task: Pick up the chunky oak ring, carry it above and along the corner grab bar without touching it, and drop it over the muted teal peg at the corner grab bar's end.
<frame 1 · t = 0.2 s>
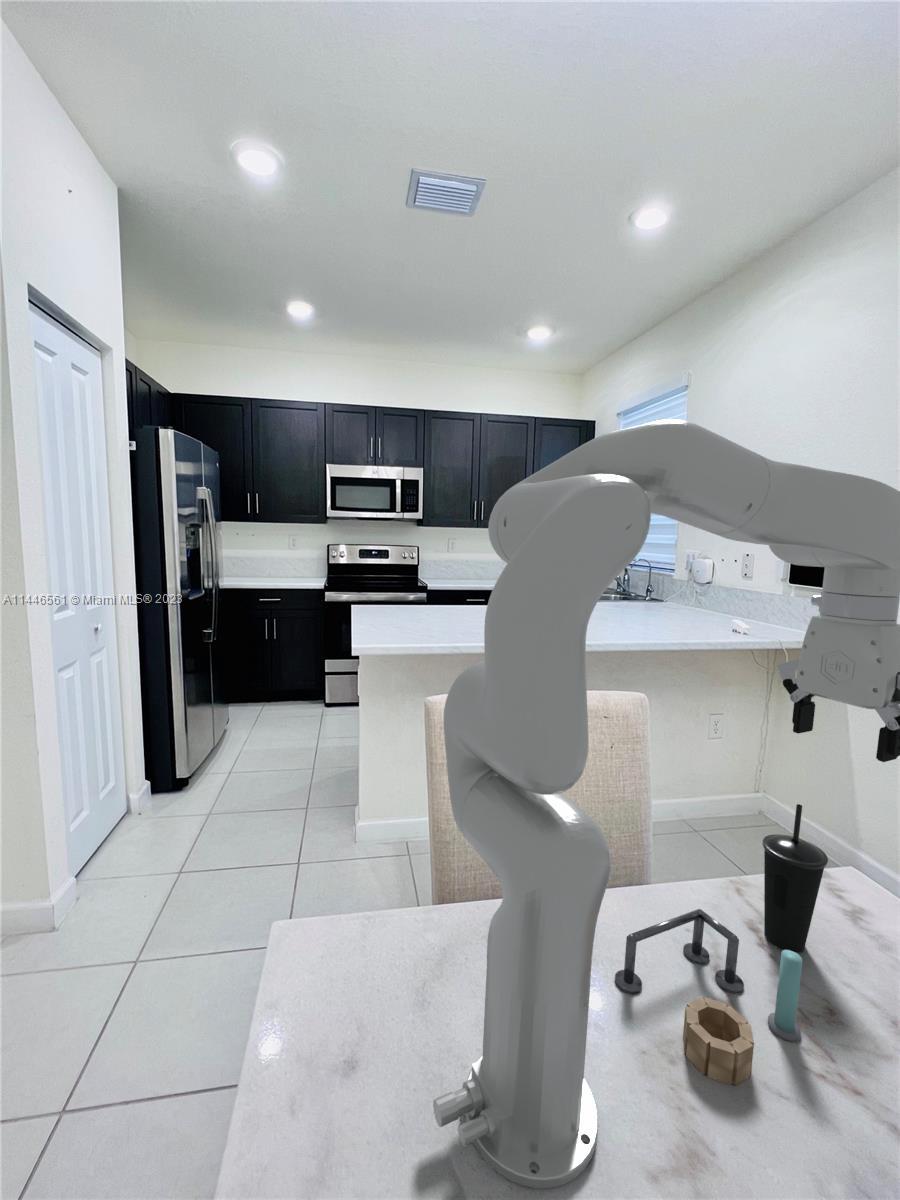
hand: (841, 744, 67), 31 cm above the table, fingers open, 9 cm apart
ring: (715, 1053, 58), on the table
drinking cup: (784, 941, 75), on the table
peg: (783, 1028, 61), on the table
corner grab bar: (628, 983, 67), on the table
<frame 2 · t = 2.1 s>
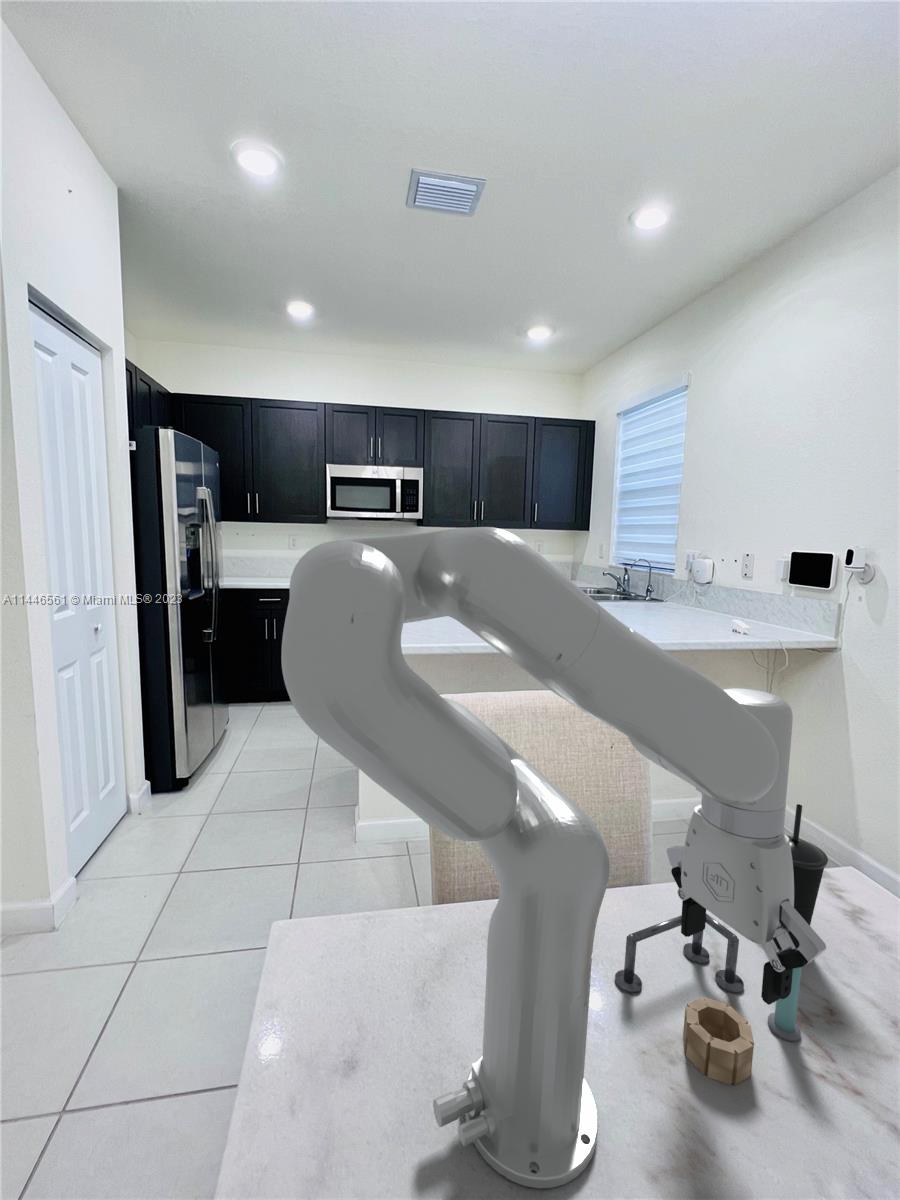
hand: (730, 962, 57), 11 cm above the table, fingers open, 9 cm apart
nothing on the table moved.
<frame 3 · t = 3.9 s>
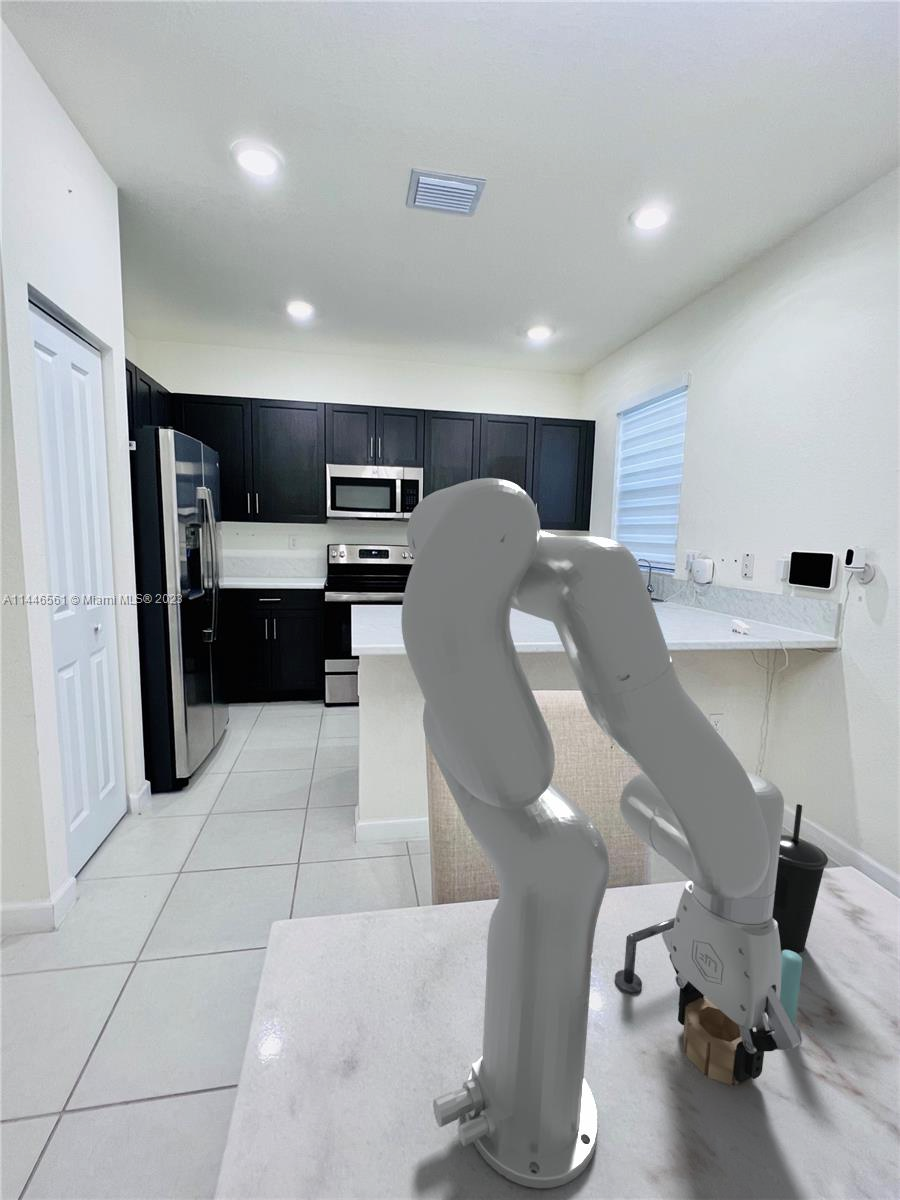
hand: (716, 1045, 58), 1 cm above the table, fingers closed on ring, 6 cm apart
ring: (715, 1053, 58), on the table, touching gripper
everything else where it was.
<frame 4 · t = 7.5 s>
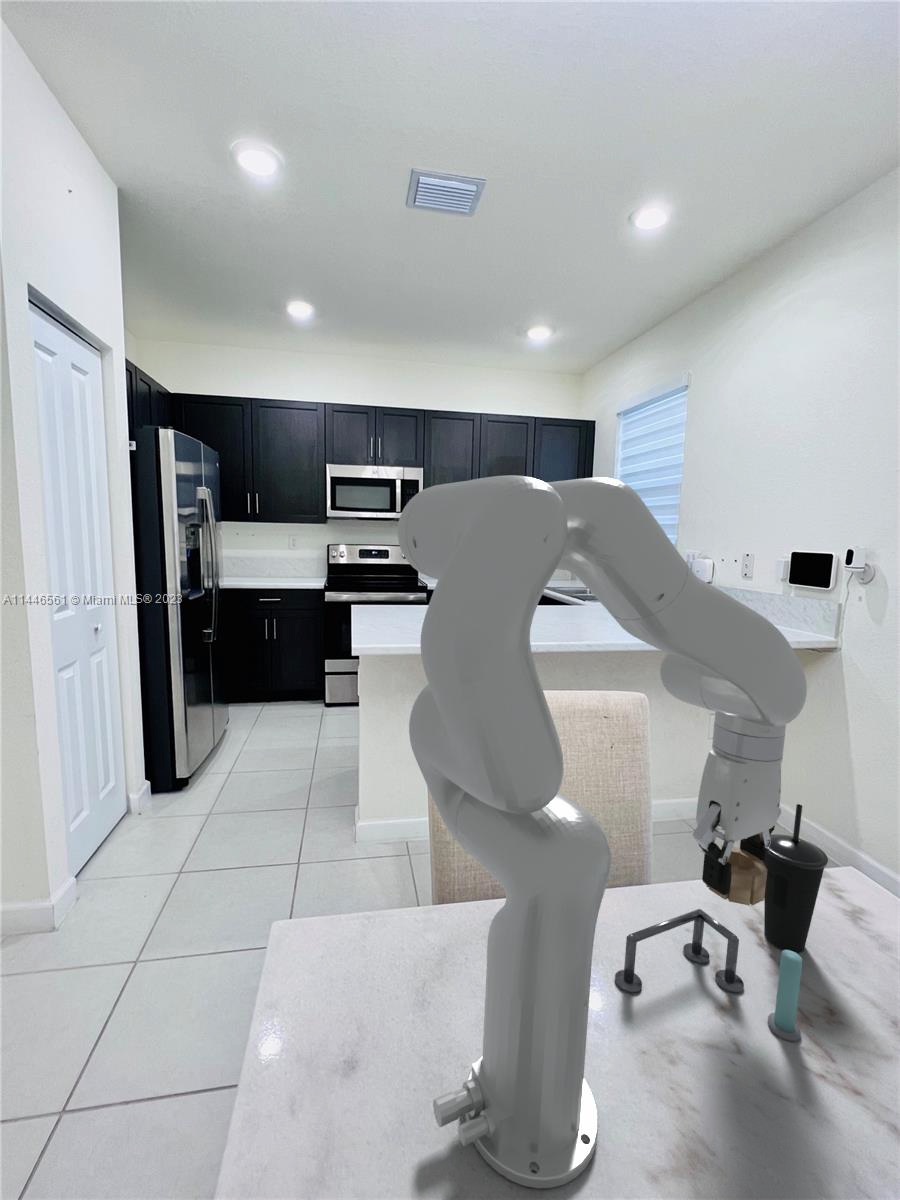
hand: (733, 879, 67), 14 cm above the table, fingers closed on ring, 6 cm apart
ring: (733, 887, 67), point 12 cm above the table, touching gripper
everything else where it was.
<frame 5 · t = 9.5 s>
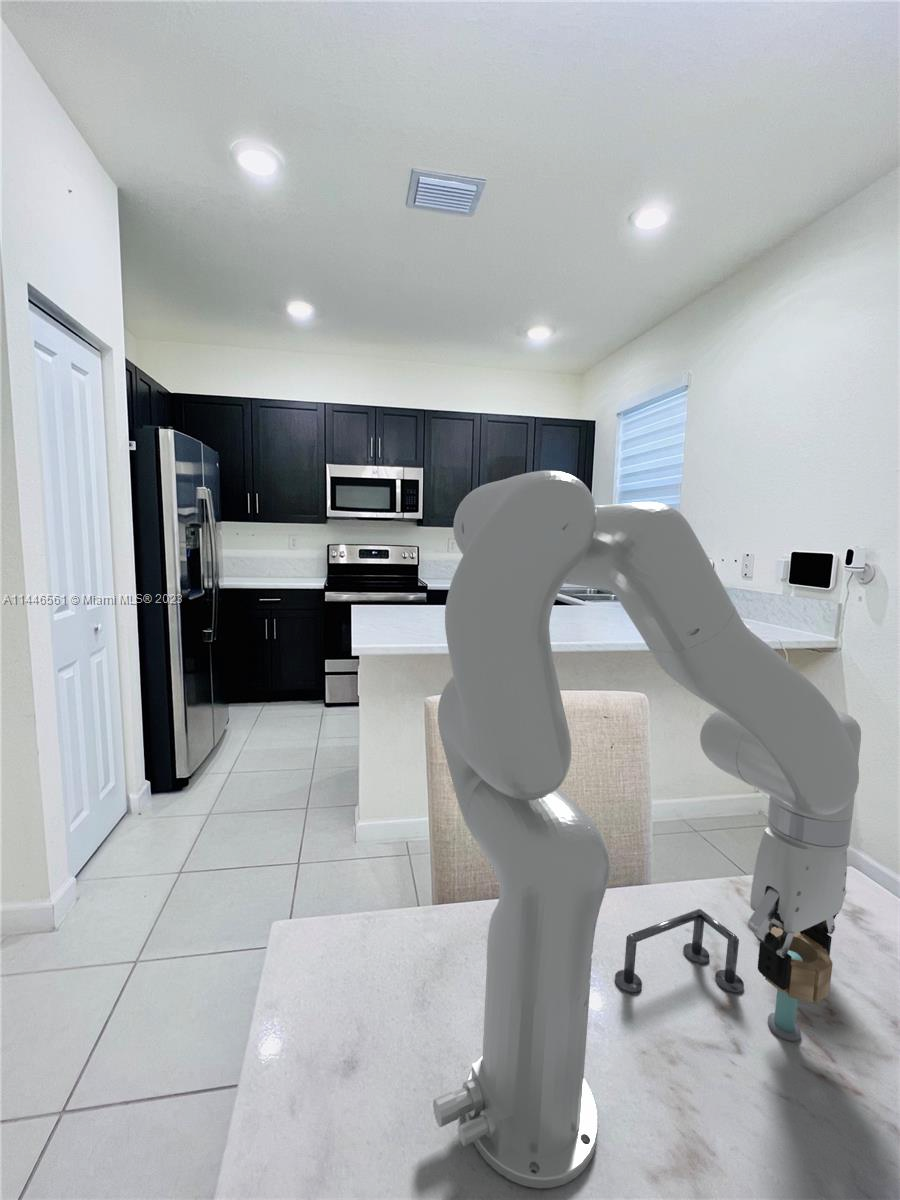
hand: (792, 968, 61), 7 cm above the table, fingers closed on ring, 6 cm apart
ring: (792, 977, 61), point 6 cm above the table, touching gripper
everything else where it was.
when the fingers open (3 cm above the table, at t = 11.2 s): ring drops 2 cm, on the table.
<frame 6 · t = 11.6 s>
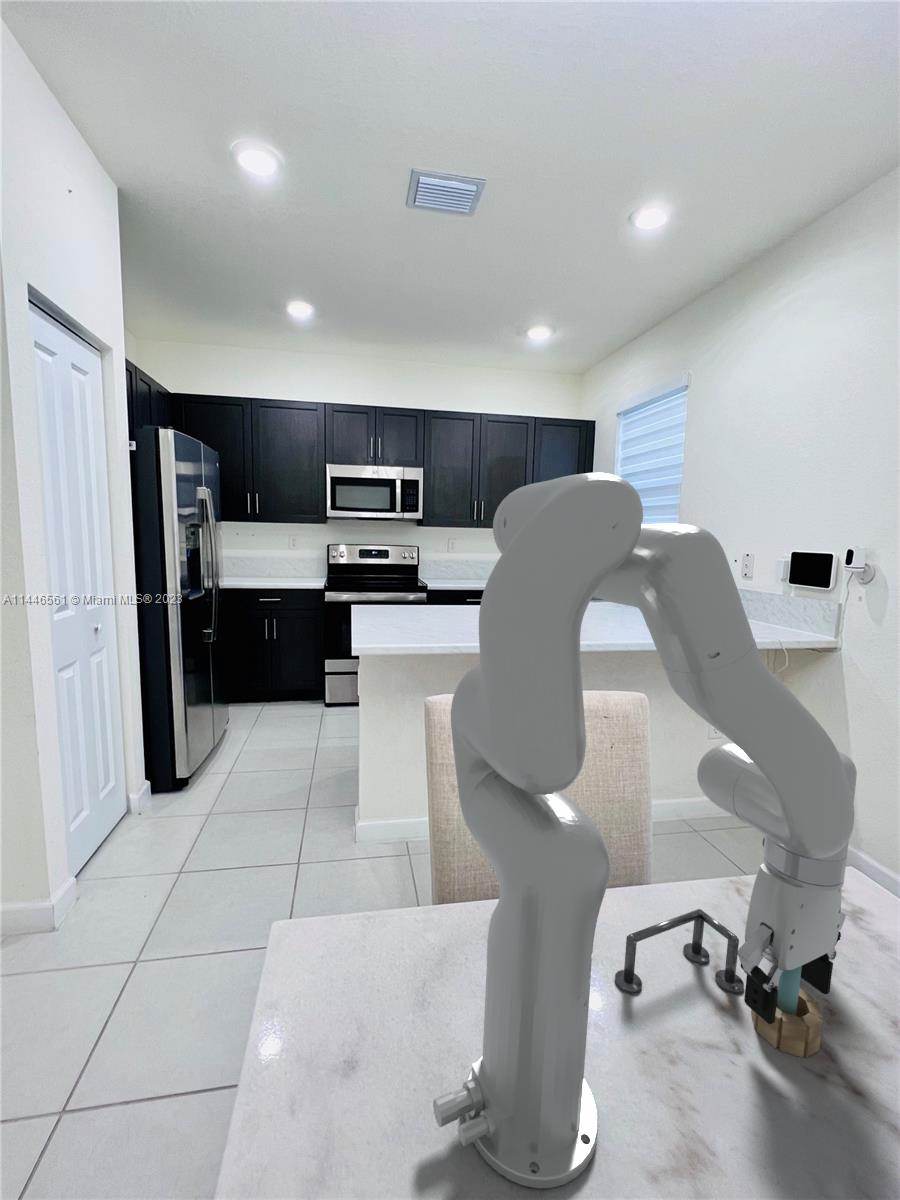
hand: (787, 998, 61), 4 cm above the table, fingers open, 9 cm apart
ring: (784, 1029, 61), on the table
everything else where it was.
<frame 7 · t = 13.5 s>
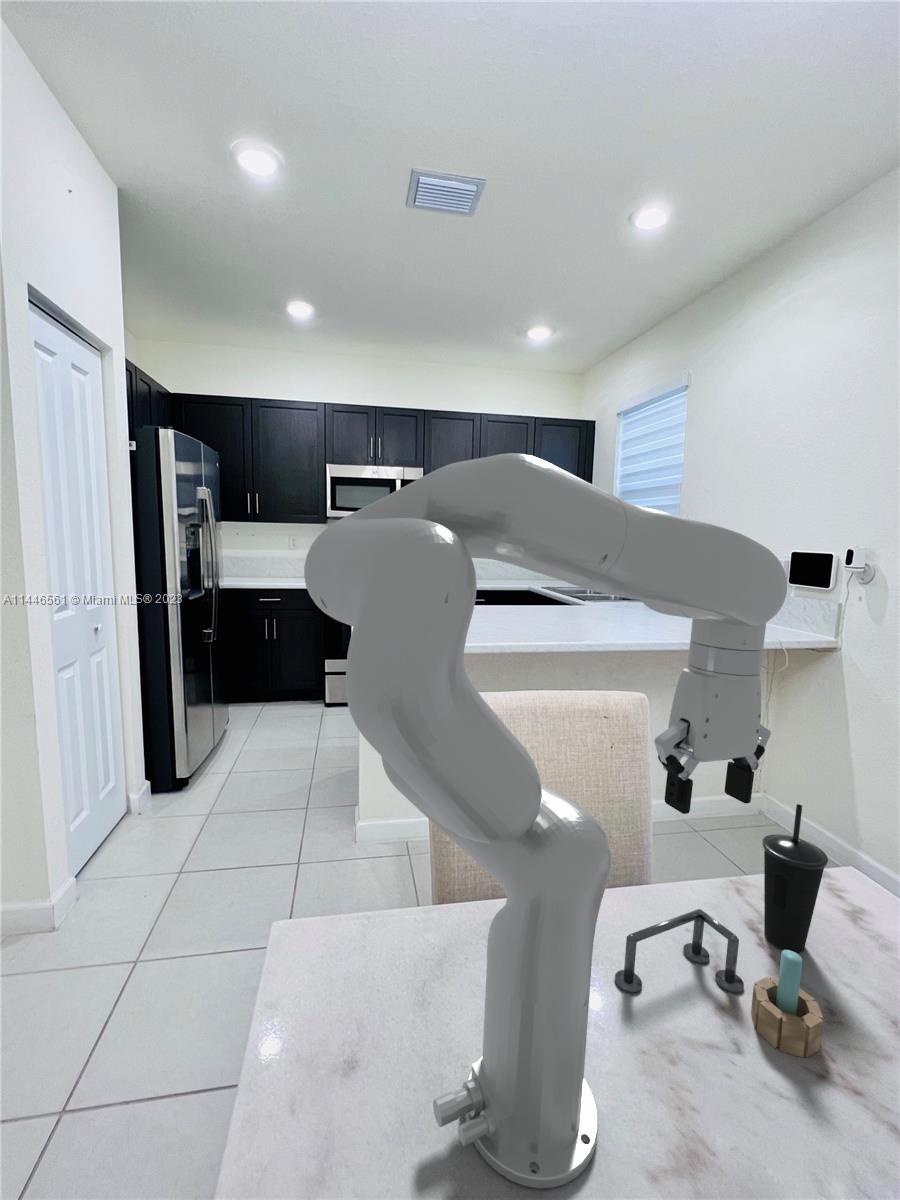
hand: (707, 803, 63), 25 cm above the table, fingers open, 9 cm apart
nothing on the table moved.
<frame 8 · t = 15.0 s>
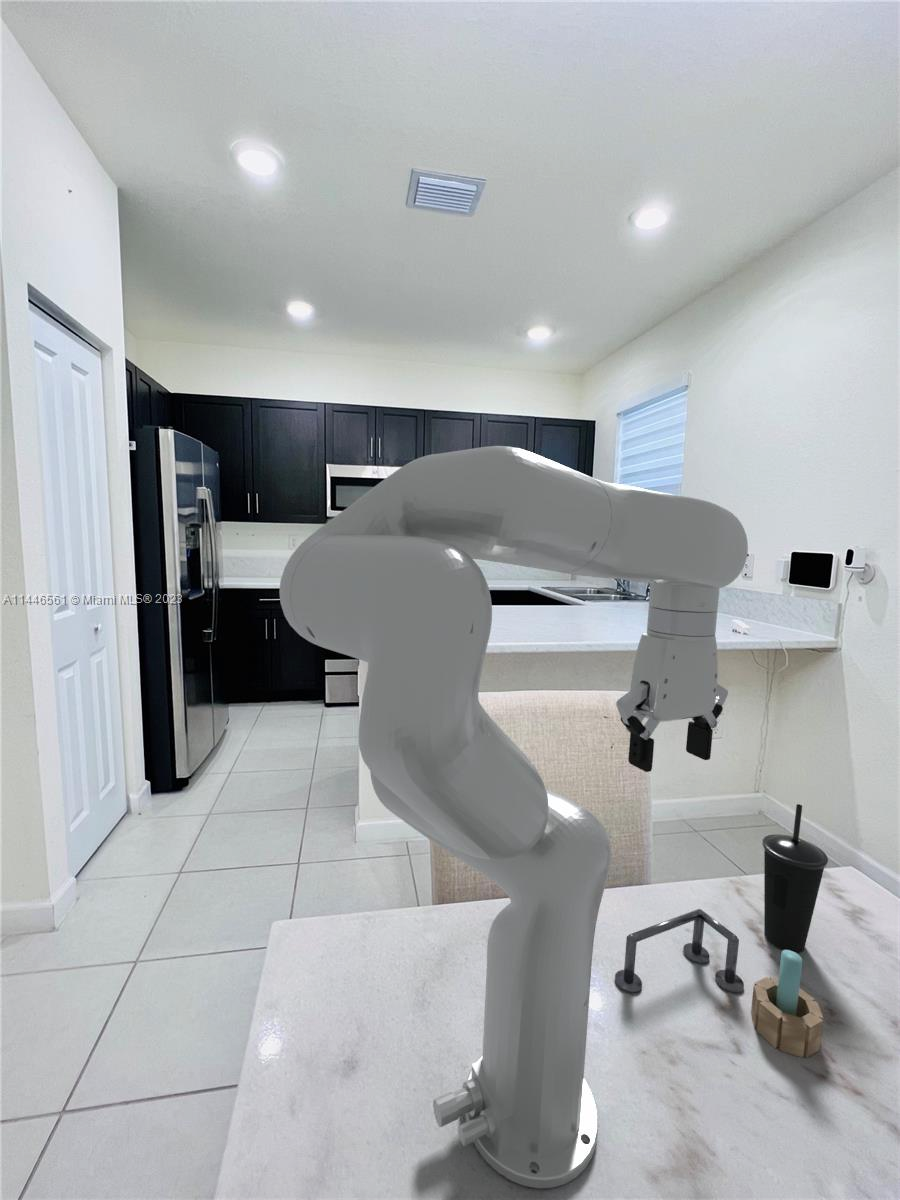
hand: (669, 761, 66), 28 cm above the table, fingers open, 9 cm apart
nothing on the table moved.
at the end: ring 0.1 cm from the peg (horizontally); ring on the table; ring touching table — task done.
